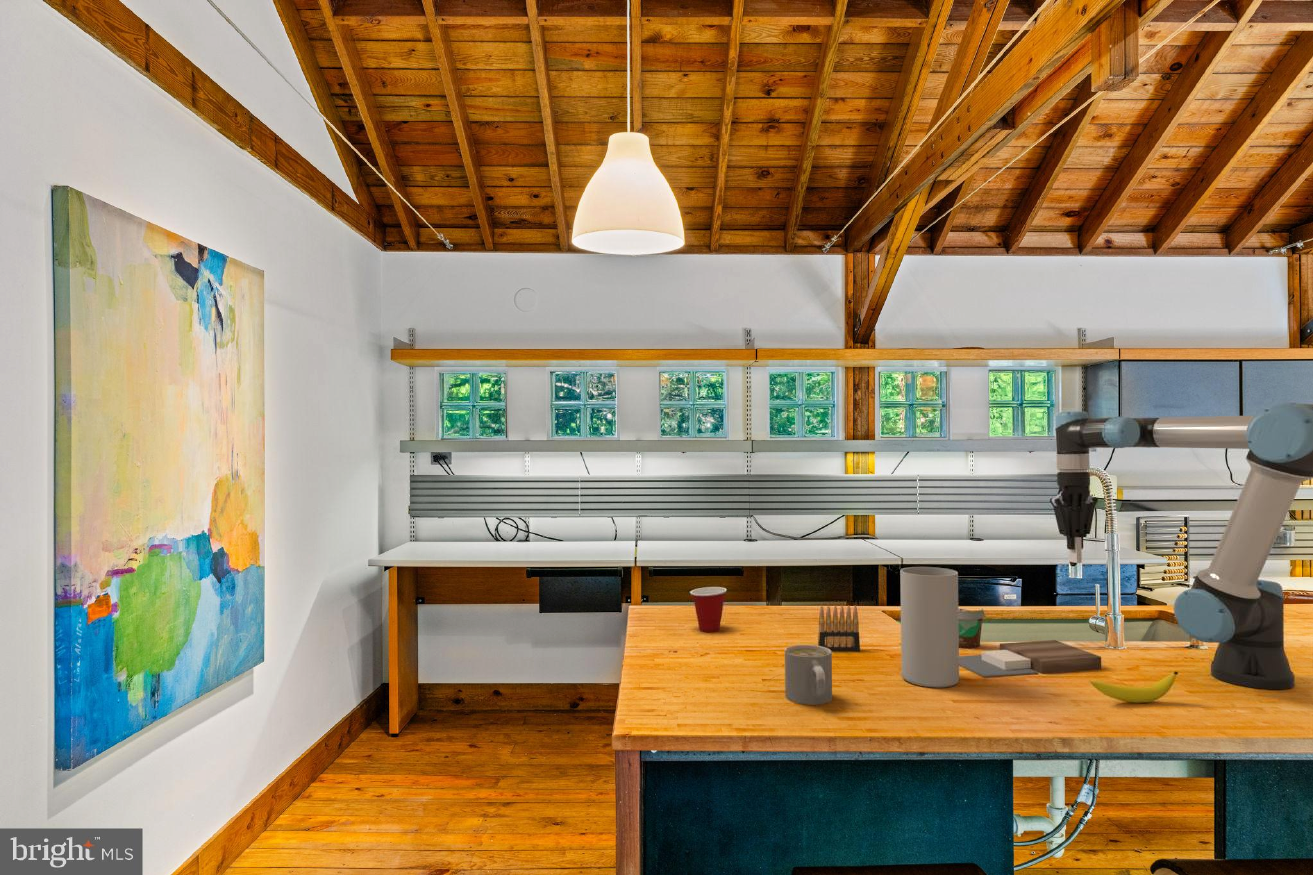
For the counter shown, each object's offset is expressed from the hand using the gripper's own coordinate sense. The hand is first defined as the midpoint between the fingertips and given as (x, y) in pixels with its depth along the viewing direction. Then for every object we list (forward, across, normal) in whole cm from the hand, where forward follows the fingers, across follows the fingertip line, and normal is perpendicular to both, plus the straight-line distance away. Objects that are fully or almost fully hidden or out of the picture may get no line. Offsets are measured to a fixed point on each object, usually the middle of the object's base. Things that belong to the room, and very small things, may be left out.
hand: (1075, 562), depth 200 cm
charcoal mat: (+23, +30, +5) cm, 38 cm away
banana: (+24, +18, +36) cm, 46 cm away
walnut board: (+23, +14, +6) cm, 28 cm away
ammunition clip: (+23, +59, -17) cm, 65 cm away
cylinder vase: (+24, +50, +11) cm, 56 cm away
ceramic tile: (+23, +25, +6) cm, 35 cm away
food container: (+23, +26, -13) cm, 37 cm away
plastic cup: (+23, +85, -47) cm, 100 cm away
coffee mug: (+24, +82, +17) cm, 87 cm away
